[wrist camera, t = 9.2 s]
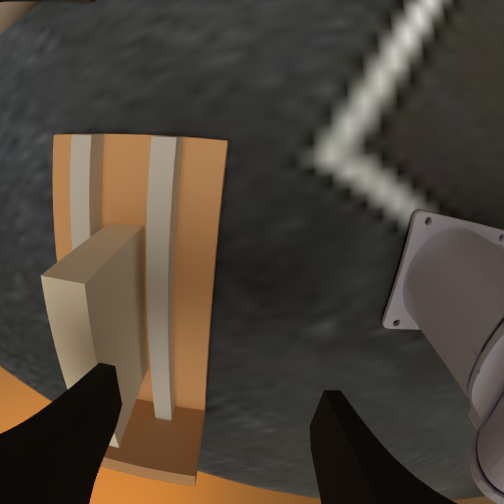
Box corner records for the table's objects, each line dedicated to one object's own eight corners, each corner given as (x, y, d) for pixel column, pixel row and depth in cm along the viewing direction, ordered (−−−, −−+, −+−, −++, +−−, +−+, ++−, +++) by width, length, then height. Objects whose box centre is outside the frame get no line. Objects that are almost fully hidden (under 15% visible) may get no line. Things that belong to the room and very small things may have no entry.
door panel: (143, 226, 17) (84, 284, 10) (148, 368, 20) (118, 447, 14) (110, 222, 16) (41, 275, 10) (121, 362, 20) (85, 438, 13)
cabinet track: (228, 140, 16) (213, 144, 9) (205, 413, 23) (195, 486, 16) (62, 134, 16) (-18, 144, 9) (89, 390, 23) (58, 452, 16)
